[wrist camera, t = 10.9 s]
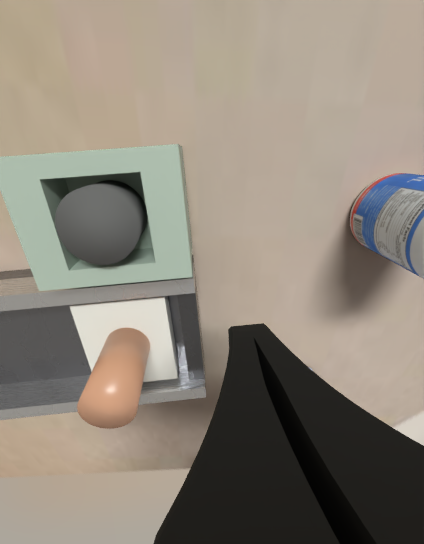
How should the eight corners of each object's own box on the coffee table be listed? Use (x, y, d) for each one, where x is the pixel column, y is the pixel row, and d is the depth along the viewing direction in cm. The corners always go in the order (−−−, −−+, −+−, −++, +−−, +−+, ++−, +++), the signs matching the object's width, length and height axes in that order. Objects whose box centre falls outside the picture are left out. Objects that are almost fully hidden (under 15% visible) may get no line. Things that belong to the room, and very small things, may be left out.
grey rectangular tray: (203, 359, 24) (206, 397, 20) (-52, 386, 23) (-98, 430, 19) (193, 254, 19) (193, 278, 16) (-120, 282, 19) (-196, 314, 15)
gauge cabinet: (191, 244, 19) (192, 277, 14) (79, 254, 19) (39, 291, 14) (181, 146, 16) (178, 144, 11) (50, 155, 16) (-13, 157, 11)
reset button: (152, 242, 16) (144, 261, 13) (90, 247, 15) (68, 268, 13) (141, 177, 14) (129, 183, 11) (72, 182, 14) (43, 190, 11)
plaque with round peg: (178, 363, 21) (173, 445, 15) (102, 371, 21) (68, 457, 15) (166, 286, 18) (154, 350, 12) (78, 294, 18) (24, 363, 12)
